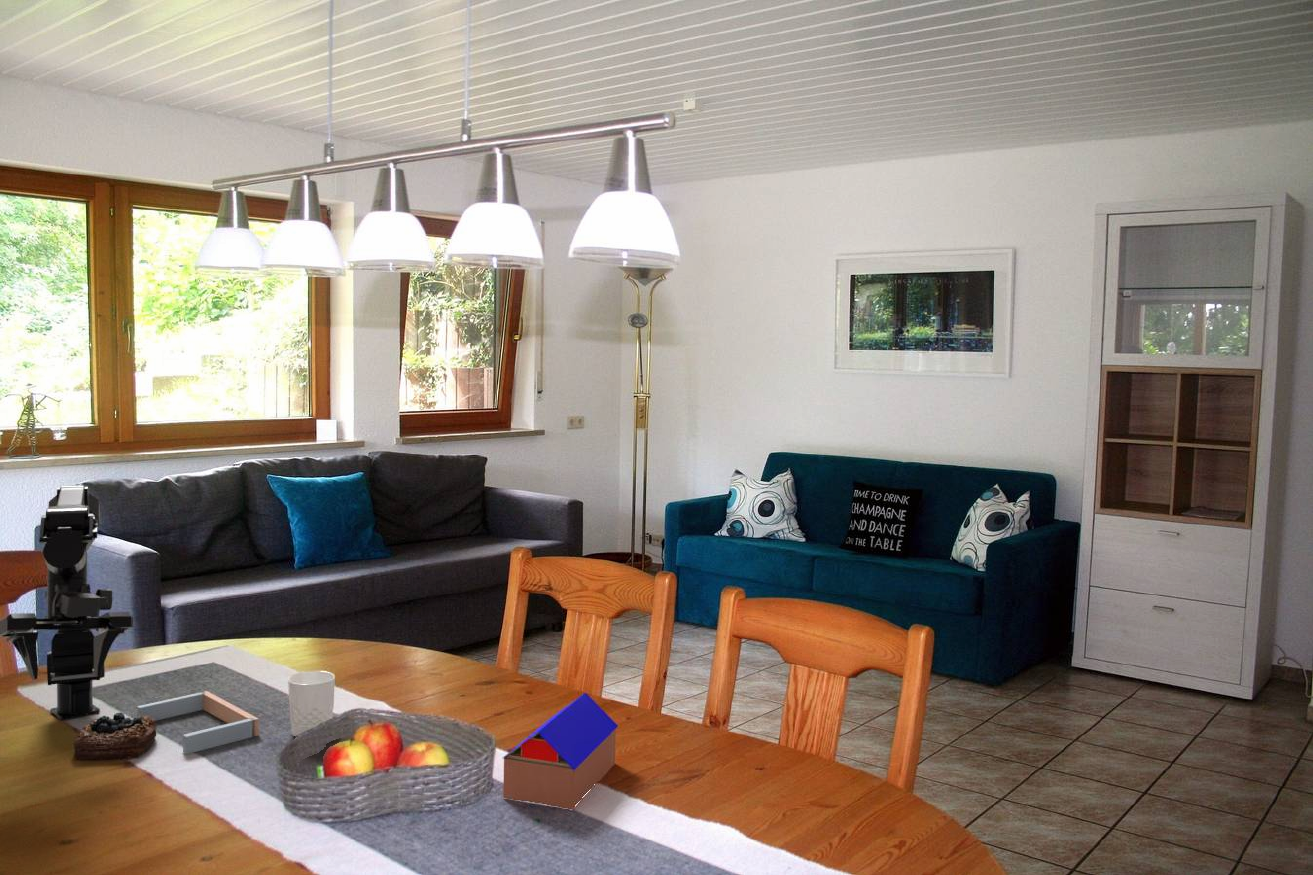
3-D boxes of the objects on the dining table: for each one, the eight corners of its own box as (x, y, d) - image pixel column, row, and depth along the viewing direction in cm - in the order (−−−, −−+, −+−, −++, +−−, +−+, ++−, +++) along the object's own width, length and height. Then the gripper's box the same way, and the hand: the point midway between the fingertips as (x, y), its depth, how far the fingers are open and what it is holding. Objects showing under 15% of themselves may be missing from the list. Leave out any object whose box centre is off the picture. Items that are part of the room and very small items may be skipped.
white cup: (320, 742, 179) (320, 686, 178) (279, 737, 180) (279, 681, 180) (342, 726, 187) (343, 672, 186) (303, 722, 188) (303, 668, 187)
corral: (137, 722, 186) (137, 706, 185) (206, 706, 195) (206, 690, 195) (186, 754, 172) (186, 736, 172) (258, 735, 181) (258, 718, 181)
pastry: (143, 760, 169) (143, 726, 169) (64, 764, 167) (63, 728, 167) (162, 736, 180) (162, 703, 180) (88, 739, 178) (87, 706, 178)
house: (500, 801, 158) (501, 726, 157) (551, 754, 177) (552, 688, 176) (573, 813, 155) (575, 737, 154) (617, 764, 174) (619, 696, 173)
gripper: (20, 570, 158) (18, 673, 154) (146, 571, 172) (147, 666, 168) (-4, 585, 165) (-6, 684, 161) (119, 586, 179) (120, 677, 174)
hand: (66, 677), depth 166 cm, fingers open, 9 cm apart
